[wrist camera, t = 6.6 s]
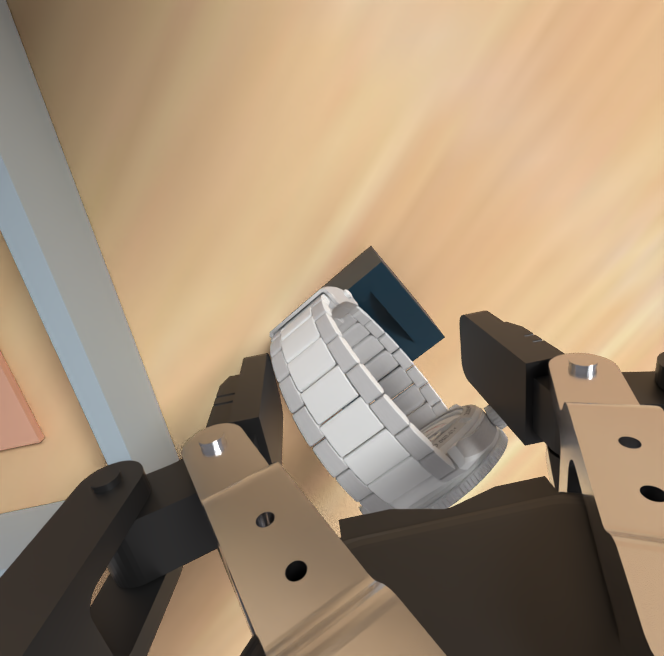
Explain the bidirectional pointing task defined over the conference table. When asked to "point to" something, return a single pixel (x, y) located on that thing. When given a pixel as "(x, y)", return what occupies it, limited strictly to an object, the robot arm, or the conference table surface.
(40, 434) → the resting pad
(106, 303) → the grey flat square frame
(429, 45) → the conference table surface
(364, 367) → the watch
